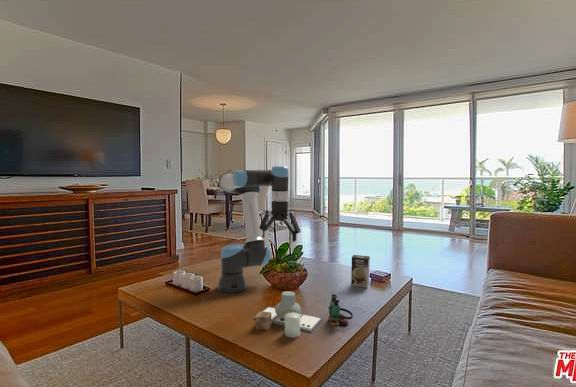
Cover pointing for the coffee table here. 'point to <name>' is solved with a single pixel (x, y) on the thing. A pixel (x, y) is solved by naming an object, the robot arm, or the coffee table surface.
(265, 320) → the walnut block
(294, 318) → the pale green capsule
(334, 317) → the binoculars
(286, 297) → the air freshener
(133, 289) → the coffee table surface
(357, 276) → the coffee box
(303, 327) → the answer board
